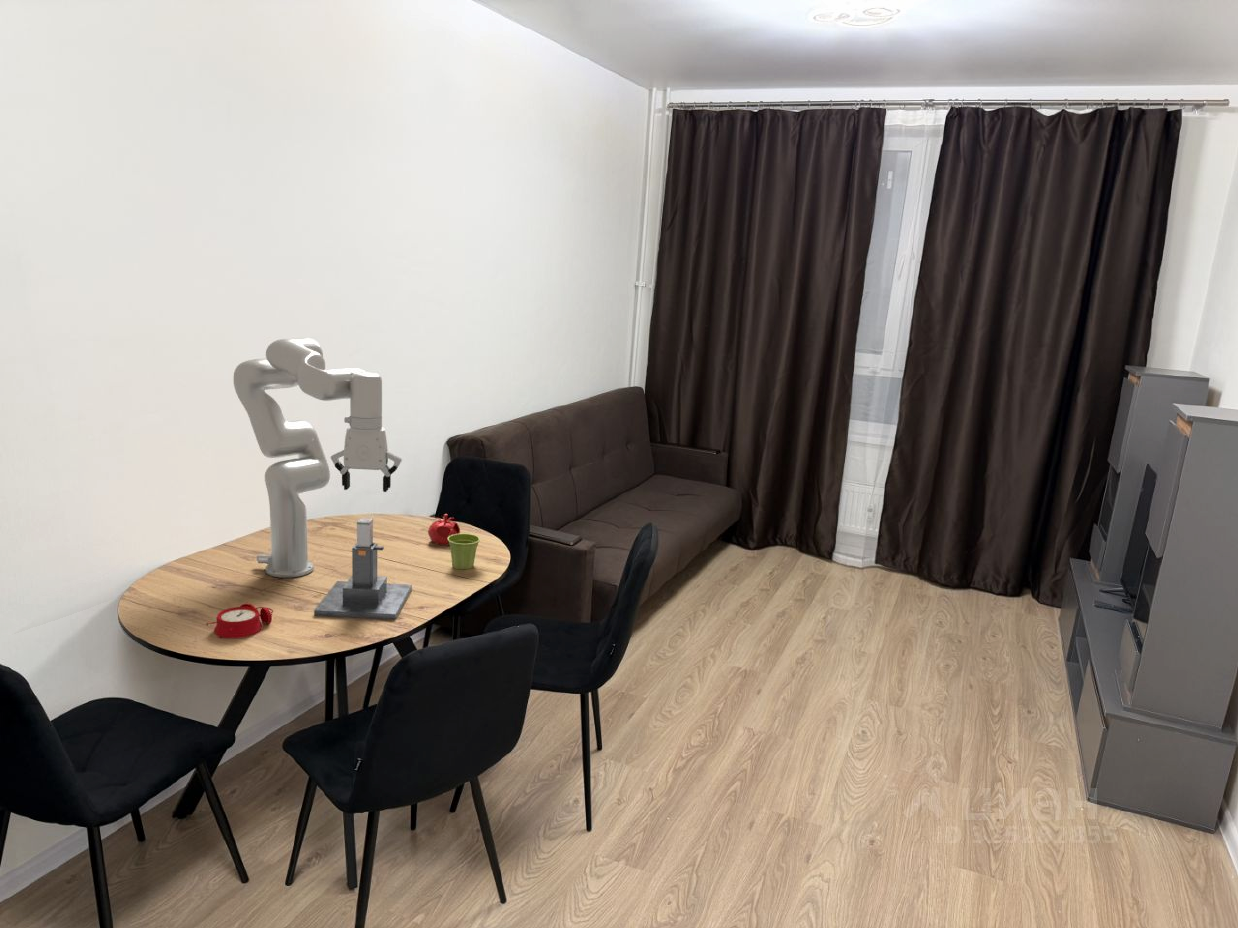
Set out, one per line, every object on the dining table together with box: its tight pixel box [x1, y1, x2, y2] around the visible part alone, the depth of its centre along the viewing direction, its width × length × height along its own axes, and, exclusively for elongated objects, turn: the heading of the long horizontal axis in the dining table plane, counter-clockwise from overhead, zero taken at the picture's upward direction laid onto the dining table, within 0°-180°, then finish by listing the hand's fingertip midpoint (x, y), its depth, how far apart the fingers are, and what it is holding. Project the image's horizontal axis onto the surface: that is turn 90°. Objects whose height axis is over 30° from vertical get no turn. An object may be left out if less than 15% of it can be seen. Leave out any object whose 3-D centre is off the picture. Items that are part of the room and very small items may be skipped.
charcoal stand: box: [313, 542, 413, 620], centre depth 221 cm, size 20×20×16 cm
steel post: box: [356, 517, 374, 548], centre depth 220 cm, size 3×3×17 cm
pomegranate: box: [427, 513, 461, 546], centre depth 272 cm, size 10×10×9 cm
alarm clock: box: [205, 602, 274, 639], centre depth 204 cm, size 10×6×15 cm
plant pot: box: [448, 533, 481, 570], centre depth 252 cm, size 9×9×9 cm
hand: (366, 489), depth 217 cm, fingers open, 9 cm apart
